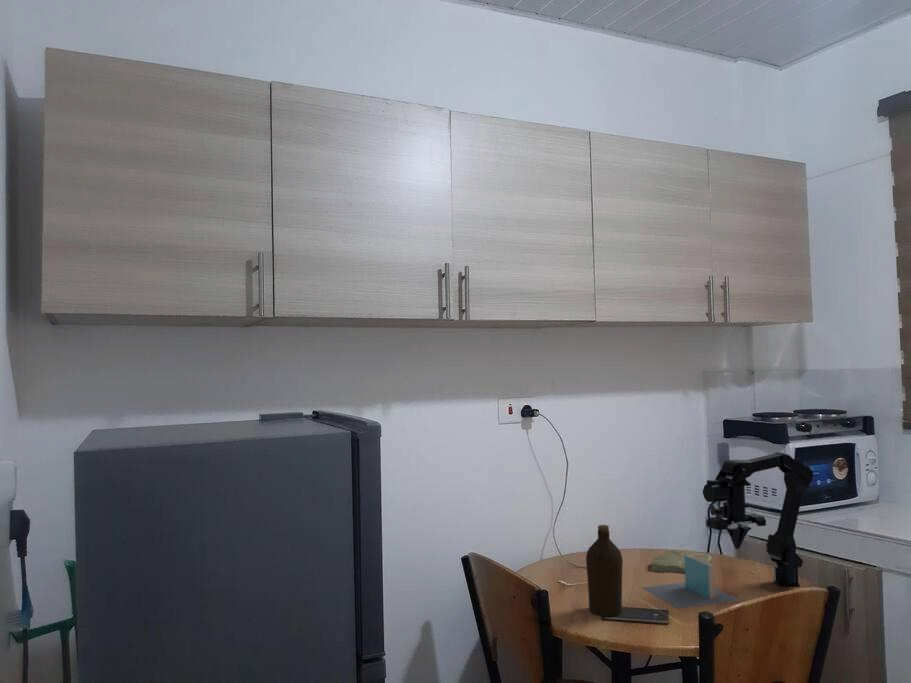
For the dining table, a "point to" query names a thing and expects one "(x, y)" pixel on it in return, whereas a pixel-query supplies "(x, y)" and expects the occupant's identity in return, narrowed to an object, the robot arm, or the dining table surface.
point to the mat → (686, 595)
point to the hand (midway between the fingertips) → (736, 548)
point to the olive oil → (604, 575)
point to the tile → (700, 576)
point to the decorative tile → (675, 561)
